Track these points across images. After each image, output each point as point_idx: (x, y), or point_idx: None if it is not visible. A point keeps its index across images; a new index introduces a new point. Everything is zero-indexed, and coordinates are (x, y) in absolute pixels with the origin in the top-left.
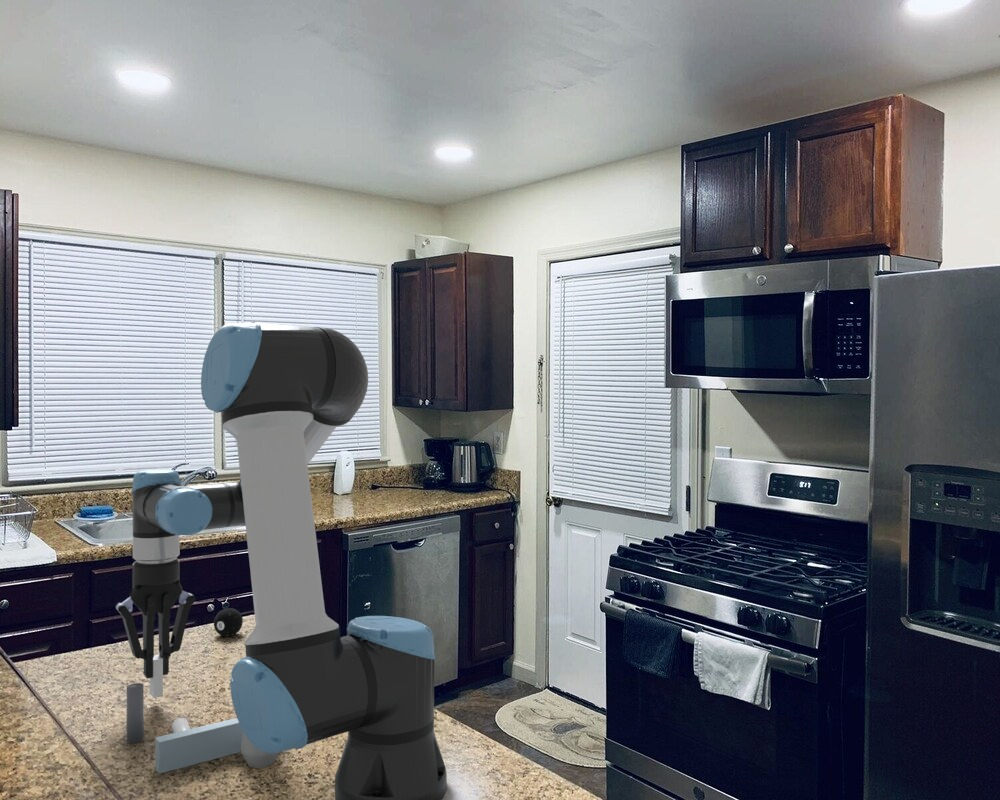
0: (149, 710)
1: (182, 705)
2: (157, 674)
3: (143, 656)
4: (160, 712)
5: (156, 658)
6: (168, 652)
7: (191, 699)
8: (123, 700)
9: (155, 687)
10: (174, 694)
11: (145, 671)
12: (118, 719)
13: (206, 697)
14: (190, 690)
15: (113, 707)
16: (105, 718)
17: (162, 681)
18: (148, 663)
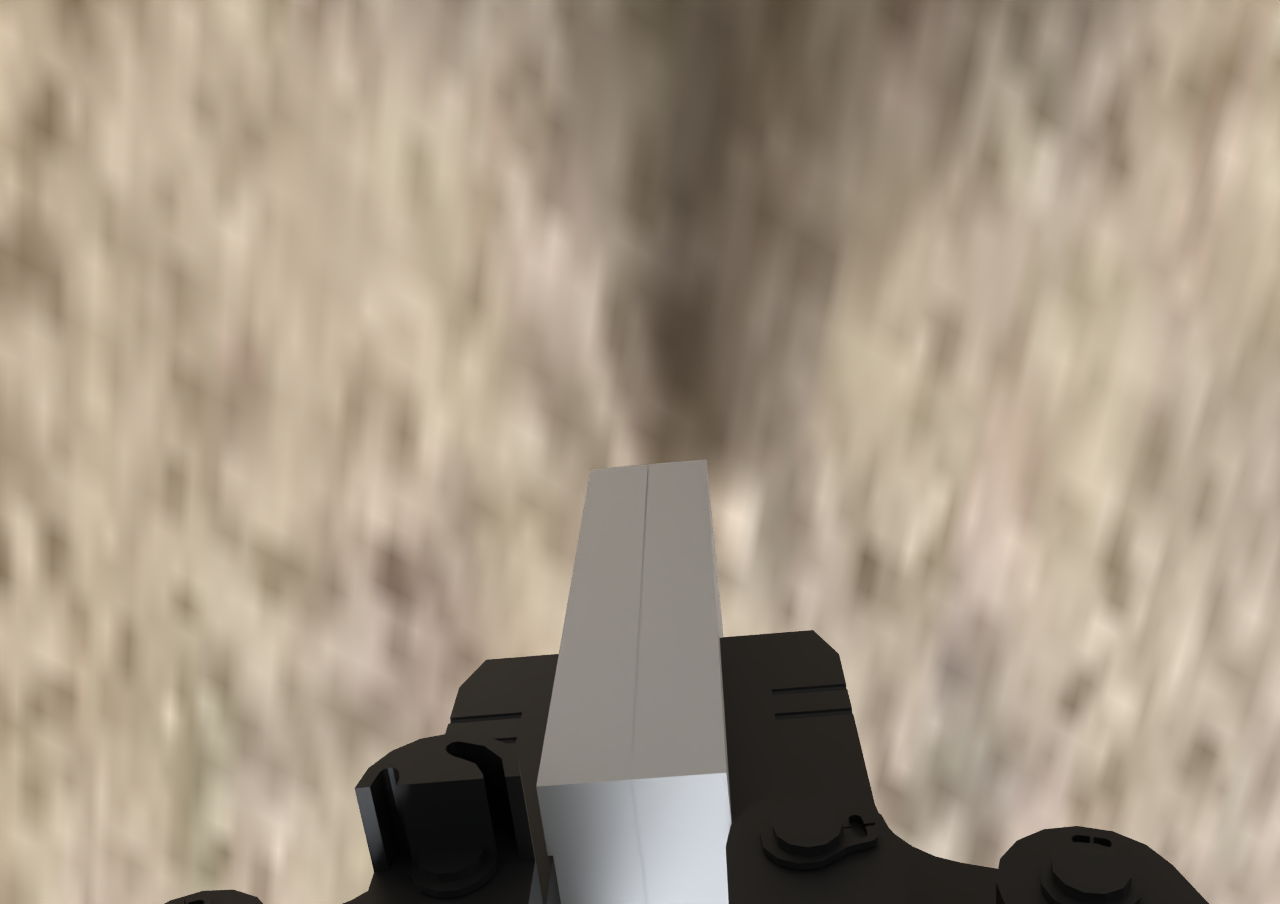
0: (758, 379)
1: (381, 339)
2: (654, 615)
3: (948, 897)
4: (652, 244)
5: (656, 856)
6: (395, 884)
7: (265, 478)
8: (948, 809)
9: (686, 518)
10: (432, 718)
11: (848, 712)
12: (1134, 277)
13: (93, 452)
14: (257, 747)
15: (1086, 670)
16: (1250, 389)
17: (581, 558)
18: (816, 788)
